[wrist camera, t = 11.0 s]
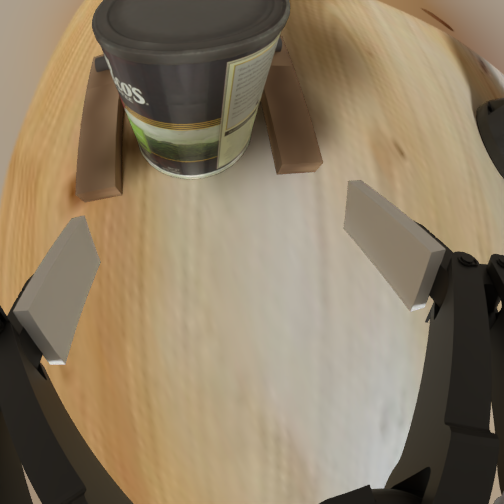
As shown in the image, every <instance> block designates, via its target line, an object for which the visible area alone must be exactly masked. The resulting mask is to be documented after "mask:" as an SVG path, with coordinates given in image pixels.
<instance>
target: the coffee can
mask: <svg viewBox="0 0 504 504" xmlns="http://www.w3.org/2000/svg"><path fill="white" fill-rule="evenodd" d="M289 14H290V3H289V0H103V1H102V2H101V4H100V5H99V6H98V8H97V9H96V11H95V13H94V16H93V19H92V28H93V32H94V35H95V37H96V40H97V41H98V43H99V44H100V45H101V47H102V50H103V53H104V56H105V59H106V62H107V64H108V67H109V69H110V72H111V75H112V78H113V81H114V83H115V86H116V88H117V91H118V94H119V96H120V99H121V101H122V104H123V106H124V109H125V111H126V113H127V116H128V119H129V121H130V124H131V126H132V129H133V131H134V133H135V136H136V138H137V141H138V144H139V148H140V151H141V153H142V154H143V156H144V158H145V159H146V160H147V161H148V163H149V164H151V165H152V166H153V167H154V168H156V169H157V170H159V171H160V172H162V173H164V174H166V175H169V176H172V177H176V178H182V179H198V178H204V177H209V176H212V175H215V174H218V173H220V172H222V171H224V170H226V169H227V168H229V167H230V166H232V165H233V164H234V163H235V162H236V161H237V160H238V159H239V158H240V157H241V156H242V155H243V153H244V152H245V150H246V149H247V147H248V145H249V142H250V139H251V133H252V127H253V124H254V120H255V117H256V114H257V110H258V106H259V103H260V100H261V96H262V93H263V89H264V86H265V82H266V79H267V76H268V72H269V69H270V66H271V63H272V59H273V56H274V53H275V49H276V46H277V43H278V40H279V36H280V33H281V30H282V29H283V28H284V26H285V24H286V22H287V20H288V17H289Z"/></svg>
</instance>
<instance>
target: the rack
mask: <svg viewBox="0 0 504 504" xmlns="http://www.w3.org/2000/svg"><path fill="white" fill-rule="evenodd" d="M261 105H262V109H263V113H264V118H265V122H266V126H267V131H268V135H269V140H270V144H271V149H272V154H273V158H274V163H275V168H276V173H277V174H290V173H305V172H315V171H316V170H317V169H318V168H319V167H320V166H321V164H322V163H323V160H322V156H321V153H320V149H319V146H318V142H317V138H316V135H315V132H314V128H313V125H312V121H311V118H310V115H309V112H308V108H307V105H306V102H305V99H304V96H303V93H302V90H301V87H300V84H299V81H298V78H297V75H296V72H295V70H294V67H293V64H292V61H291V58H290V56H289V53H288V50H287V48H286V45H285V42H284V40H283V37H282V36H279V40H278V43H277V46H276V49H275V53H274V56H273V59H272V63H271V66H270V69H269V72H268V76H267V79H266V82H265V86H264V89H263V93H262V96H261ZM123 111H124V106H123V104H122V101H121V99H120V96H119V94H118V91H117V88H116V86H115V83H114V81H113V78H112V75H111V72H110V69H109V67H108V64H107V62H106V59H105V56H104V54H103V55H99V56H96V57H94V58H93V62H92V66H91V70H90V75H89V80H88V85H87V90H86V96H85V101H84V107H83V114H82V121H81V129H80V137H79V147H78V159H77V174H76V196H78V197H79V198H80V199H81V200H83V201H84V202H89V201H94V200H99V199H104V198H109V197H114V196H120V195H122V129H123Z"/></svg>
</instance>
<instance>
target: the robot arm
mask: <svg viewBox="0 0 504 504" xmlns="http://www.w3.org/2000/svg"><path fill="white" fill-rule="evenodd" d="M477 122H478V127H479V130H480V134H481V136H482V139H483V142H484V144H485V146H486V149H487V151H488V153H489V155H490V157H491V159H492V160H493V162H494V164H495V166H496V167H497V169H498V171H499V172H500V174H501V175H502V176H503V178H504V98H499V99H495V100H490V101H487V102H486V103H484V104H483V105H482V106H480V107H479V108H478V110H477ZM344 230H345V231H346V232H347V233H348V234H349V235H350V237H351V238H352V239H353V240H354V241H355V242H356V244H357V245H358V246H359V247H360V248H361V250H362V251H363V252H364V253H365V254H366V256H367V257H368V258H369V259H370V261H371V262H372V263H373V264H374V265H375V267H376V268H377V269H378V270H379V272H380V273H381V274H382V275H383V277H384V278H385V279H386V281H387V282H388V283H389V284H390V286H391V287H392V288H393V290H394V291H395V292H396V293H397V295H398V296H399V297H400V299H401V300H402V301H403V303H404V304H405V305H406V307H407V308H408V309H409V311H410V312H411V311H414V310H418V309H421V308H424V307H425V305H426V302H427V300H428V297H429V295H430V297H431V298H432V299H433V300H434V303H433V305H432V307H431V310H430V312H429V314H428V316H427V319H426V321H425V322H427V323H428V321H429V319H430V326H429V335H428V343H427V350H426V356H425V362H424V368H423V374H422V379H421V384H420V389H419V394H418V398H417V403H416V407H415V411H414V415H413V419H412V422H411V426H410V430H409V433H408V437H407V440H406V443H405V446H404V450H403V453H402V455H401V458H400V460H399V462H398V464H397V465H396V467H395V468H394V469H393V471H392V473H391V475H390V476H389V478H388V481H387V483H386V485H385V488H384V489H371V488H370V485H367V486H364V487H362V488H359V489H356V490H354V491H351V492H348V493H345V494H342V495H339V496H336V497H333V498H329V499H327V500H325V501H323V502H321V503H319V504H488V503H489V500H490V496H491V492H492V487H493V482H494V478H495V473H496V466H497V468H498V477H499V485H500V490H501V494H502V496H500V497H498V498H497V499H496V500H495V502H494V504H504V256H503V255H499V254H493V255H491V257H490V260H489V263H488V265H487V264H479V262H478V261H477V260H476V259H475V258H474V257H473V256H471V255H470V254H467V253H465V252H454V253H453V252H452V251H451V250H450V249H449V248H448V247H447V246H446V245H444V244H443V243H442V242H441V241H440V240H439V239H438V238H435V236H434V235H433V234H432V233H430V231H429V230H427V229H426V228H425V227H424V226H423V225H421V224H419V223H417V222H415V221H413V220H412V219H411V218H409V217H408V216H407V215H406V214H404V213H403V212H402V211H401V210H400V209H398V208H397V207H396V206H395V205H393V204H392V203H391V202H389V201H388V200H387V199H386V198H384V197H383V196H382V195H380V194H379V193H378V192H376V191H375V190H374V189H372V188H371V187H370V186H368V185H367V184H366V183H364V182H363V181H361V180H357V181H348V190H347V201H346V211H345V221H344ZM100 263H101V262H100V259H99V256H98V254H97V251H96V248H95V245H94V243H93V240H92V237H91V234H90V231H89V228H88V225H87V222H86V219H85V216H80V217H76V218H72V219H71V220H70V221H69V223H68V224H67V226H66V227H65V228H64V230H63V231H62V232H61V234H60V235H59V237H58V238H57V240H56V241H55V242H54V244H53V245H52V247H51V248H50V250H49V251H48V253H47V254H46V256H45V257H44V259H43V261H42V262H41V264H40V265H39V267H38V268H37V270H36V272H35V273H34V274H33V275H32V276H31V277H30V278H29V279H28V280H27V282H26V283H25V285H24V287H23V288H22V291H21V292H20V294H19V295H18V298H17V299H16V301H15V302H14V304H13V306H12V308H11V310H10V312H9V314H8V316H6V314H5V313H4V311H3V309H2V308H1V306H0V504H33V502H32V499H31V496H30V493H29V490H28V486H27V483H26V480H25V476H24V472H23V468H22V465H23V467H24V470H25V472H26V474H27V476H28V478H29V480H30V482H31V484H32V486H33V488H34V490H35V492H36V493H37V495H38V497H39V499H40V501H41V502H42V504H133V503H132V501H131V500H130V499H129V498H128V497H127V496H126V495H125V493H124V492H123V491H122V490H121V489H120V488H119V486H118V485H117V484H116V483H115V481H114V480H113V479H112V478H111V476H110V475H109V474H108V473H107V471H106V470H105V469H104V467H103V466H102V465H101V463H100V462H99V461H98V459H97V458H96V456H95V455H94V454H93V452H92V451H91V449H90V448H89V446H88V445H87V443H86V442H85V440H84V439H83V437H82V436H81V434H80V432H79V431H78V429H77V428H76V426H75V424H74V423H73V421H72V419H71V418H70V416H69V414H68V413H67V411H66V409H65V407H64V405H63V404H62V402H61V400H60V398H59V396H58V394H57V392H56V390H55V388H54V386H53V384H52V382H51V380H50V378H49V376H48V374H47V372H46V370H45V368H44V366H43V365H42V364H41V363H40V360H41V357H42V354H43V356H44V357H45V358H46V360H47V361H48V362H49V363H50V364H66V360H67V357H68V353H69V350H70V346H71V343H72V340H73V337H74V333H75V330H76V327H77V324H78V321H79V318H80V315H81V312H82V309H83V307H84V304H85V301H86V298H87V296H88V293H89V290H90V288H91V285H92V282H93V280H94V277H95V275H96V272H97V270H98V267H99V265H100ZM500 300H501V302H502V308H501V310H500V311H499V312H498V310H497V306H498V304H499V302H500ZM491 403H492V410H493V418H494V426H495V434H494V433H491V432H490V430H489V422H490V410H491ZM21 463H22V464H21Z"/></svg>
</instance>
